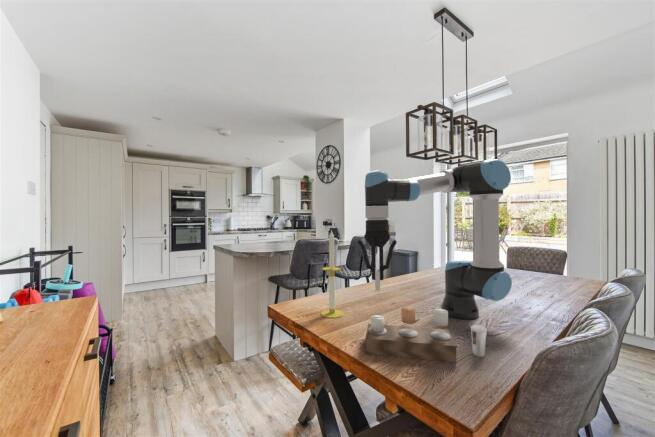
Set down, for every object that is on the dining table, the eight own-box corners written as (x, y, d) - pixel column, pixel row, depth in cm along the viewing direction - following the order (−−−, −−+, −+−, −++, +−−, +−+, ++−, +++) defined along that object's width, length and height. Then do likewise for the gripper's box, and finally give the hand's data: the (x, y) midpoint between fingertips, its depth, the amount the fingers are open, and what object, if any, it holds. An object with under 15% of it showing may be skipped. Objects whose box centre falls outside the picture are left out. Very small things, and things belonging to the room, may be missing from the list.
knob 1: (384, 327, 98) (384, 315, 98) (383, 332, 94) (383, 320, 93) (371, 326, 99) (371, 314, 99) (370, 331, 94) (370, 319, 94)
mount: (448, 344, 97) (448, 328, 97) (456, 362, 85) (456, 344, 85) (368, 337, 103) (368, 322, 103) (365, 353, 91) (365, 336, 91)
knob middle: (414, 319, 96) (414, 307, 95) (415, 324, 91) (415, 311, 91) (401, 318, 97) (401, 306, 96) (401, 323, 92) (401, 310, 92)
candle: (336, 319, 120) (335, 230, 119) (316, 315, 125) (315, 229, 124) (347, 312, 128) (346, 229, 127) (328, 308, 134) (327, 228, 133)
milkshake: (465, 351, 92) (465, 320, 92) (481, 350, 93) (481, 320, 92) (473, 358, 88) (473, 326, 87) (490, 357, 88) (490, 325, 88)
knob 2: (446, 321, 93) (446, 309, 93) (449, 326, 89) (449, 313, 89) (432, 320, 94) (432, 308, 94) (434, 325, 90) (434, 312, 90)
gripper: (396, 218, 97) (397, 287, 98) (358, 219, 100) (359, 285, 101) (397, 219, 90) (398, 293, 91) (356, 219, 93) (357, 291, 94)
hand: (377, 289), depth 96 cm, fingers closed
